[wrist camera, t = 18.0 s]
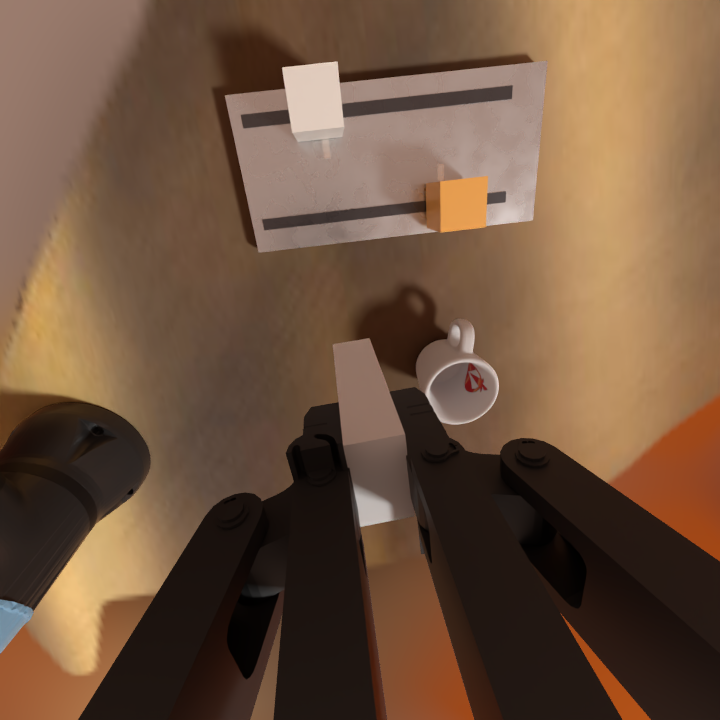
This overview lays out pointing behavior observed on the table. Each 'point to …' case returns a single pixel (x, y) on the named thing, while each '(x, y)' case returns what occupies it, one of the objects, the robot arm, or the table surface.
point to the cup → (456, 376)
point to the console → (390, 154)
